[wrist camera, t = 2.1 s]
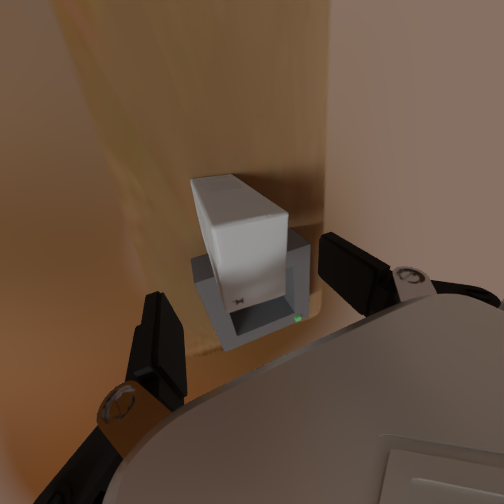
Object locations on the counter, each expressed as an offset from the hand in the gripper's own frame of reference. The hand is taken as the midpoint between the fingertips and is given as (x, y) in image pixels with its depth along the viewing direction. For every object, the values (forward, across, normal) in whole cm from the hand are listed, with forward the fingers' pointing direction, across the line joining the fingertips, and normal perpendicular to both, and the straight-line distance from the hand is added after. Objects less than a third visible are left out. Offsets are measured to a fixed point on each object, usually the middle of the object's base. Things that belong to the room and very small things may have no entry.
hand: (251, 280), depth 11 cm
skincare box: (+12, 0, -1) cm, 12 cm away
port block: (+12, -2, +11) cm, 17 cm away
